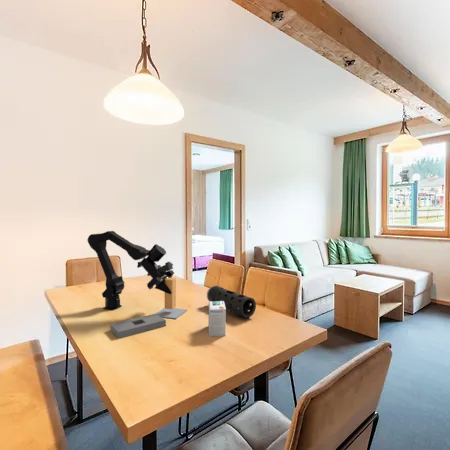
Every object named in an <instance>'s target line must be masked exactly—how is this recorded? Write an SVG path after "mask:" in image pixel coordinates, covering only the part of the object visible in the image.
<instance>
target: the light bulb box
mask: <svg viewBox="0 0 450 450" xmlns="http://www.w3.org/2000/svg"><path fill="white" fill-rule="evenodd" d="M226 310H227V309H226V307H225V304H224V301H209V300H208V337H216V336H217V337H218V336H219V337H222V336H223V337H225V336H226V332H227V331H226V321H227V320H226V316H227V311H226Z"/></svg>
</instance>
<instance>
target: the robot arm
mask: <svg viewBox="0 0 450 450" xmlns="http://www.w3.org/2000/svg"><path fill="white" fill-rule="evenodd" d="M107 241H109V242H111V243H113V244H115V245H116V246H118V247H119V248H121V249H123V250H125V252H126V253H127V254H128V256H129V257H130V258H131V259H133V260H134V261H137V266H136V267H137V268H143V269H144V270H145V272H147V274H146V275H147V277H151V279H150V280H149V281H148V282H147V283H146V285H147V286H146V287H147V289H149V290H152V289H153V288H154V290H155V289H156V290H159V291H160V292H161V291H162V292H164V293H165V292H166V293H168V294H171V293H172V292H171V291H170V289H169V288H168V286H167V285H166V283H165V279H167V278H173V275H174V274H175V272H174V270H173V269H174V267H173V266H174V264H173V263H172V262H171V261H167V262H165V263H164V265H162V266H161V264H159V265H158V264H157V263H158V262H159V261H161V260H162V259H163V257H164V256H165V255H166V254H167V251H166V250H165V248H164V247H162V246H160V245H159V244H157V243H156V244H154V245H153V246H152V248H151V249H146V247H144V246H142V245H138V244H134V243H132V242H130V241H129V240H128V239H126V238H124V237H123V236H121V235H119V234H118V233H117V232H115V231H114V230H109V231H108V230H107V231H104V232H102V233H93V234H90V235H88V237H87V241H86V242H87V243H88V245H89V247H90V248H91V249H92V250H93V251H94V252H95V253H96V255H97V258H98V260H99V264H100V266H101V268H102V271H103V273H104V276H105V279H106V280H105V288H106V289H104V291H102V293H101V294H102V295H101V296H102V298H104V300H105V301H104V302H105V304H104V305H105V306H104V307H103V309H104V310H110V311H113V310H117V309H118V308H120V307H122V306H123V305H121V298H120V295H121V294H122V292H123V290H125V289H124V288H125V281H124V280H123V279H124V278H123V276H122V275H120V276H119V275H118V274H117V273H116V271H115V268H114V266H113V263H112V261H111V257H110V256H109V253H108V250H107V244H108V243H107Z"/></svg>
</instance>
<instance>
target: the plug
mask: <svg viewBox="0 0 450 450" xmlns="http://www.w3.org/2000/svg"><path fill="white" fill-rule="evenodd" d="M165 283H166V285H167V286H168V288H169V289H170V291H171V292H172V293H171V294H168V293H166V292H164V308H165V309H174V308H177V278H175V277H172V278H167V279H165Z"/></svg>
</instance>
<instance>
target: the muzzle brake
mask: <svg viewBox="0 0 450 450" xmlns="http://www.w3.org/2000/svg"><path fill="white" fill-rule="evenodd" d="M206 298H207V300H208V302H209V301H224V304H225V307H226V310H228V311H230V313H233V314H234V315H236V316H239V317H241V318H243V319H246V320H249V319H250V318H251V317H252V316H253V315H254V313H255V311H256V308H257V303H256V300H255V299H254V298H253V297H250V296H247V295H245V294H243V293H242V294H240V293H238V292H235V291H232V290H229V289H227V288H224V287H222V286H219V285H212V286H211V287H209V288H208V290H207V292H206Z"/></svg>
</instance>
